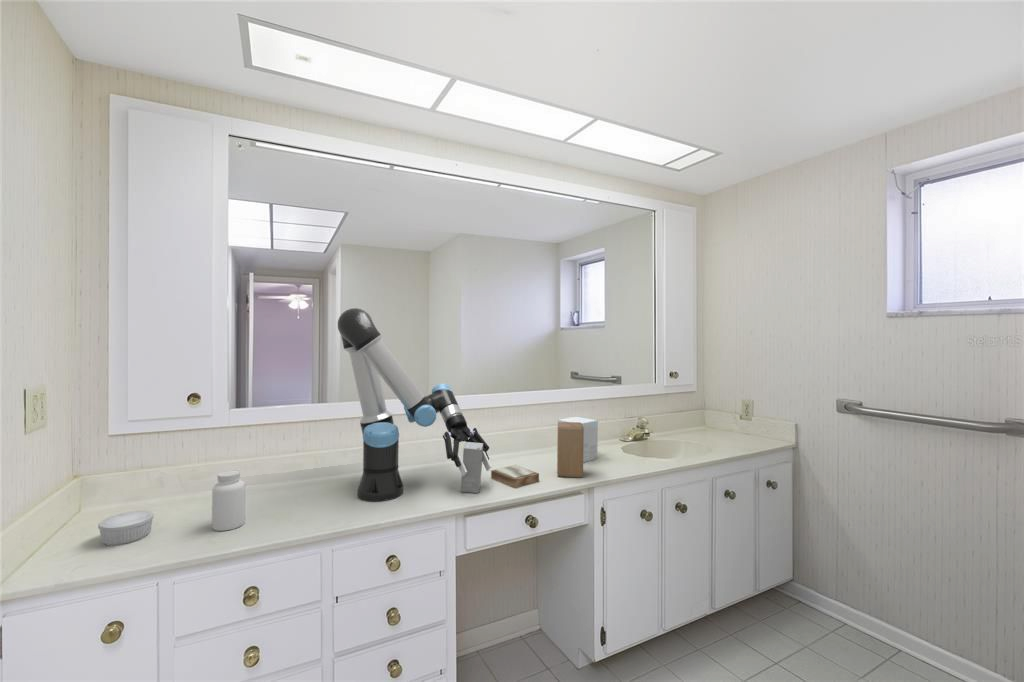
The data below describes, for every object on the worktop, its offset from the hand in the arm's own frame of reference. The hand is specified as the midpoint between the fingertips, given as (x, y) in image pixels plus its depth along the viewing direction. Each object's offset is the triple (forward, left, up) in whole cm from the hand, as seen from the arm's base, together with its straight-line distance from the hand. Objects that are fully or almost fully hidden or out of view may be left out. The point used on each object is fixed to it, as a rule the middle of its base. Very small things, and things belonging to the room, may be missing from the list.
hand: (477, 471), depth 154 cm
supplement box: (+61, +8, -7) cm, 62 cm away
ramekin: (-93, +29, -8) cm, 98 cm away
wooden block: (+41, -6, -7) cm, 42 cm away
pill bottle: (-71, +21, -7) cm, 74 cm away
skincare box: (0, +3, -7) cm, 8 cm away
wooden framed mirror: (+19, +2, -7) cm, 20 cm away
